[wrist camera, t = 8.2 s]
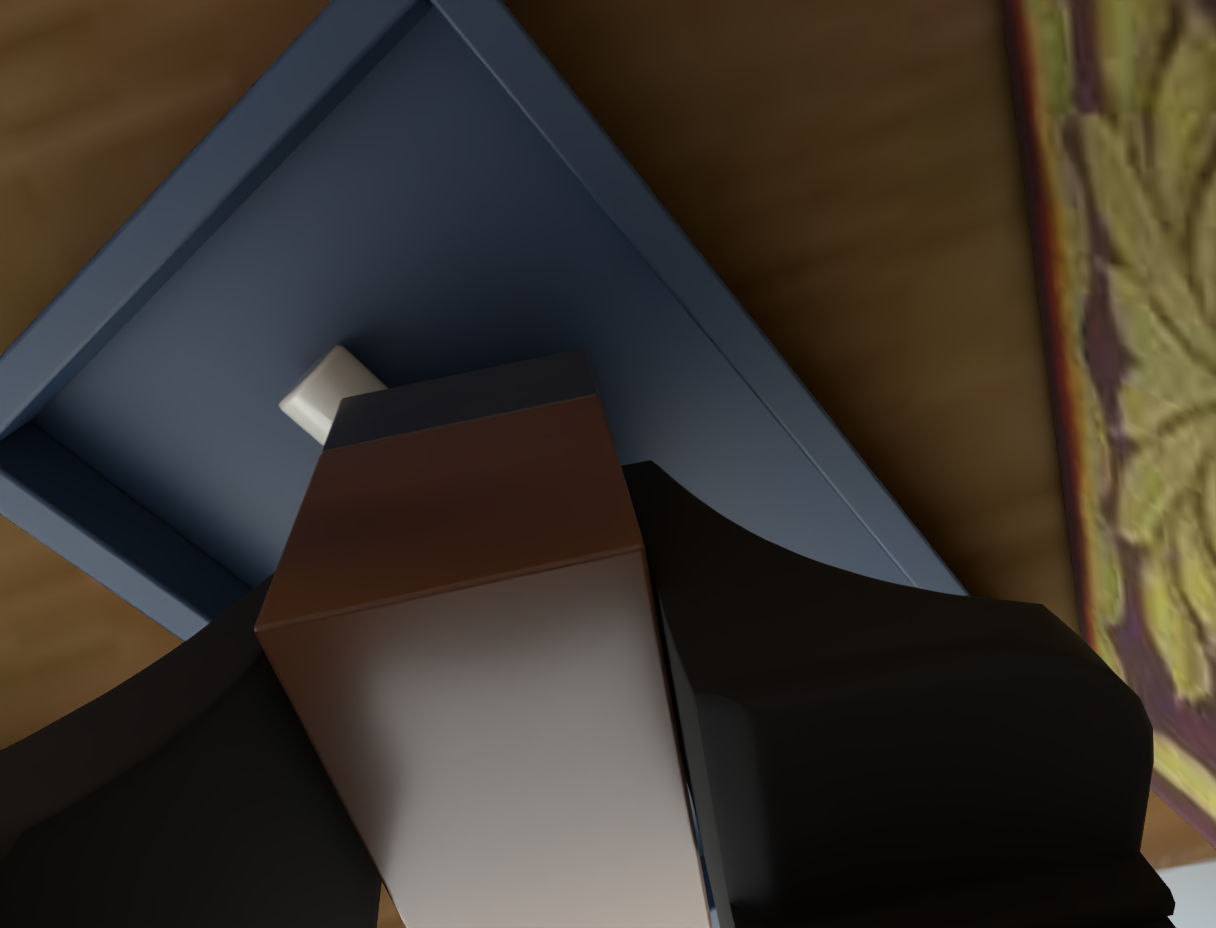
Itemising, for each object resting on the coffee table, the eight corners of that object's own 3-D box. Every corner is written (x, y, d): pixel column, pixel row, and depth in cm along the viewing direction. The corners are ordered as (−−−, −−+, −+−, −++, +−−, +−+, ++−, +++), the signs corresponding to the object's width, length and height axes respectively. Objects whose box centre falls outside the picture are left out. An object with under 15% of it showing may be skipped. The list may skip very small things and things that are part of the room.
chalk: (452, 504, 13) (426, 557, 12) (303, 371, 12) (261, 418, 11) (503, 472, 12) (479, 524, 11) (350, 328, 11) (311, 374, 10)
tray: (643, 890, 17) (654, 972, 16) (-8, 403, 12) (-93, 452, 10) (1008, 649, 16) (1064, 714, 14) (440, -69, 10) (422, -101, 8)
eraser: (654, 701, 14) (721, 977, 10) (468, 743, 13) (460, 1038, 10) (585, 346, 10) (645, 545, 6) (340, 397, 10) (249, 629, 6)
